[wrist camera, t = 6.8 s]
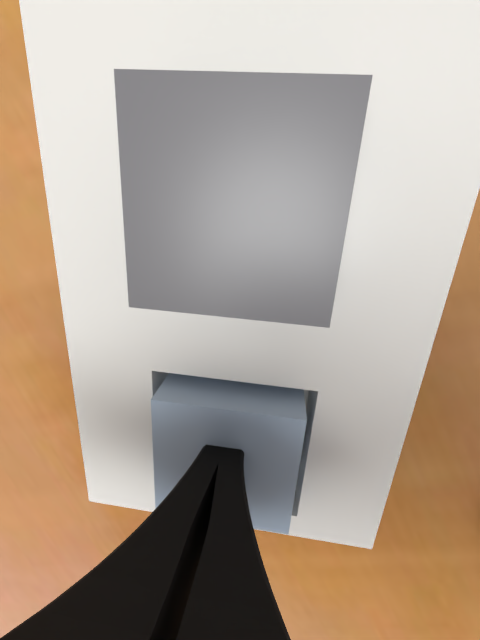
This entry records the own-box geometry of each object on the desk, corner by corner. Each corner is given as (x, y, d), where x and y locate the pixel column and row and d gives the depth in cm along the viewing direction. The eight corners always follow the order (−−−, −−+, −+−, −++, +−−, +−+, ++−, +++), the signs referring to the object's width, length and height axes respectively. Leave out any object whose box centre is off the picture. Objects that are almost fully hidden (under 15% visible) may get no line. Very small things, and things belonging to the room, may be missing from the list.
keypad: (573, -389, 7) (772, -796, 4) (356, 487, 16) (371, 549, 13) (54, -332, 8) (-67, -613, 5) (121, 451, 17) (89, 501, 14)
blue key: (301, 372, 13) (306, 420, 10) (287, 470, 14) (288, 534, 12) (179, 358, 13) (150, 399, 10) (179, 454, 15) (155, 511, 12)
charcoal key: (344, 117, 9) (373, 75, 6) (317, 294, 10) (329, 327, 8) (166, 110, 9) (114, 69, 6) (168, 280, 11) (128, 307, 8)
